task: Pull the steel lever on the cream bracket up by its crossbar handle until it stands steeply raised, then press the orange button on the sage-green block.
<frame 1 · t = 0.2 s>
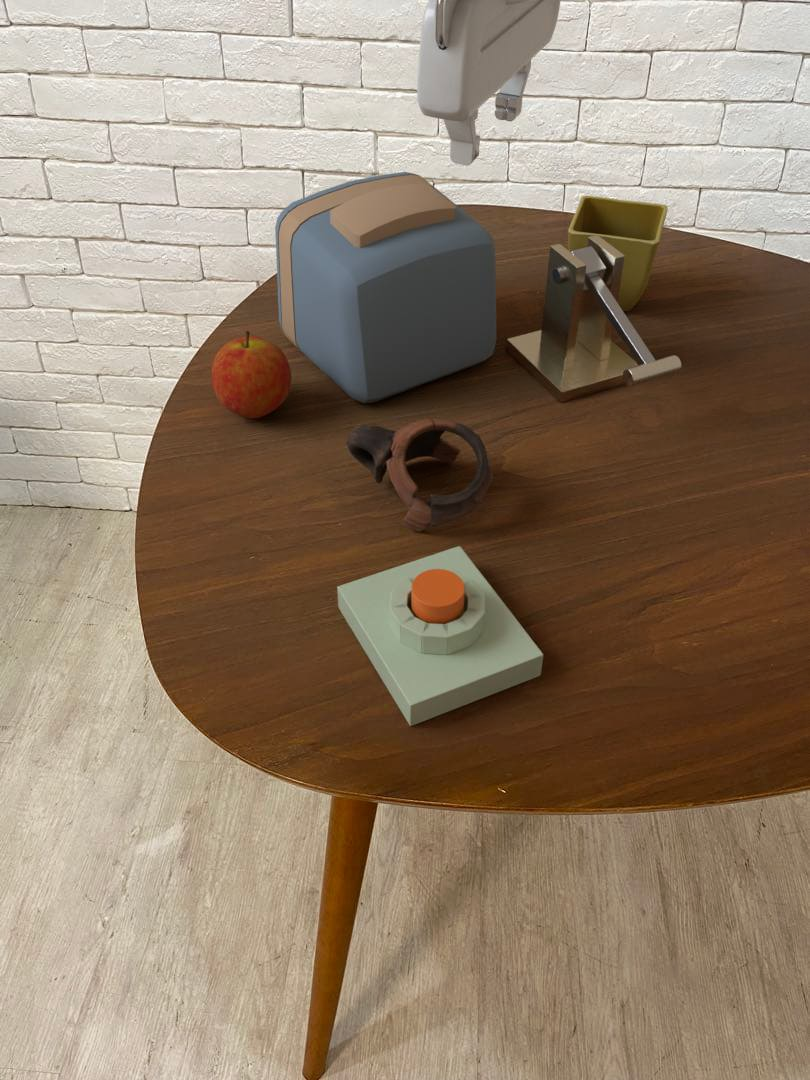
hand: (486, 138, 82), 23 cm above the table, tool pointing down, fingers open, 8 cm apart
button block: (436, 640, 74), on the table
button: (437, 596, 71), point 4 cm above the table, slide at 0.1 cm
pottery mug: (418, 496, 86), on the table
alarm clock: (386, 351, 103), on the table
bracket: (572, 364, 101), on the table
fruit: (255, 411, 95), on the table
lever: (615, 316, 92), point 8 cm above the table, hinge at -20.0°
flower pot: (606, 300, 110), on the table
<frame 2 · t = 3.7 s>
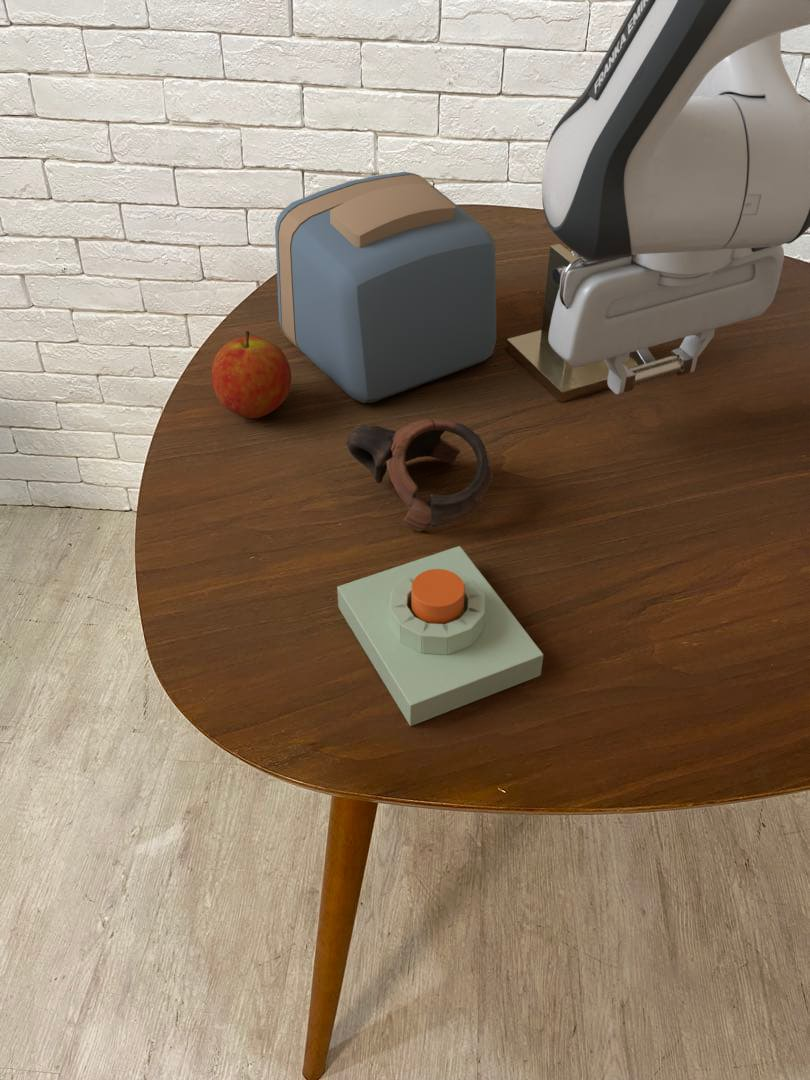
hand: (651, 379, 90), 5 cm above the table, tool pointing down, fingers closed on lever, 5 cm apart
lever: (615, 316, 92), point 8 cm above the table, hinge at -20.0°, touching gripper
everything else where it was.
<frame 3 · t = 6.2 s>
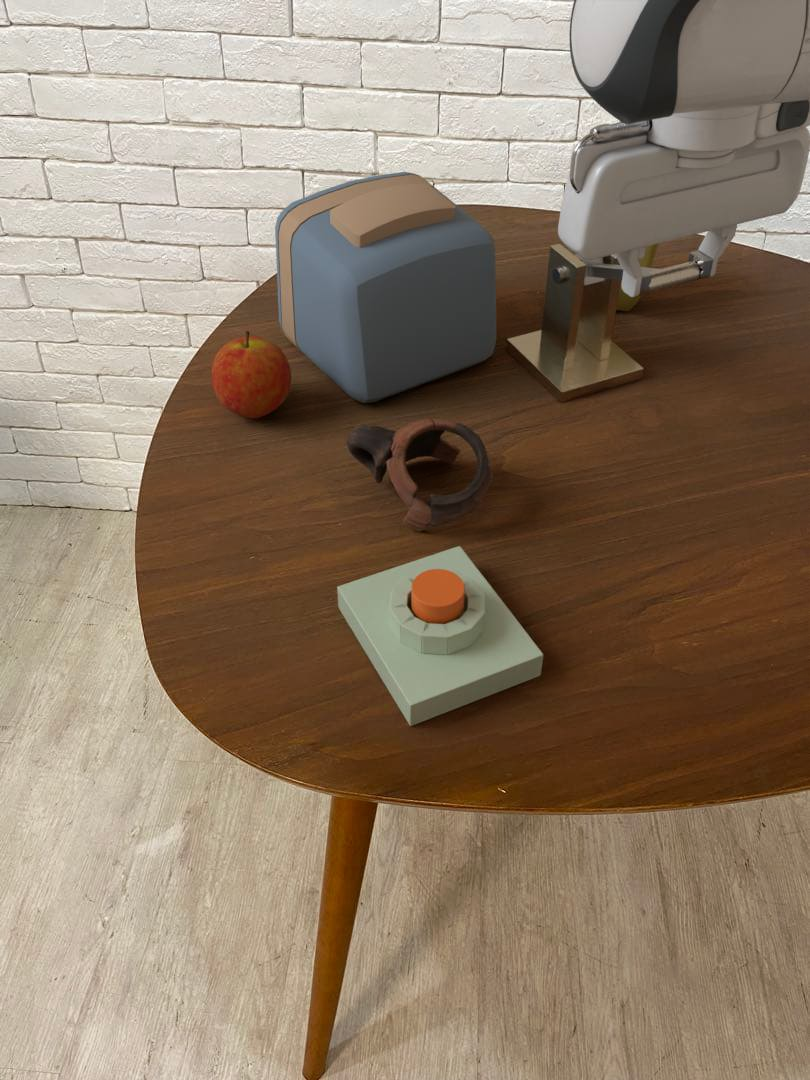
hand: (668, 283, 84), 14 cm above the table, tool pointing down, fingers closed on lever, 5 cm apart
lever: (622, 272, 89), point 12 cm above the table, hinge at 22.5°, touching gripper
everything else where it was.
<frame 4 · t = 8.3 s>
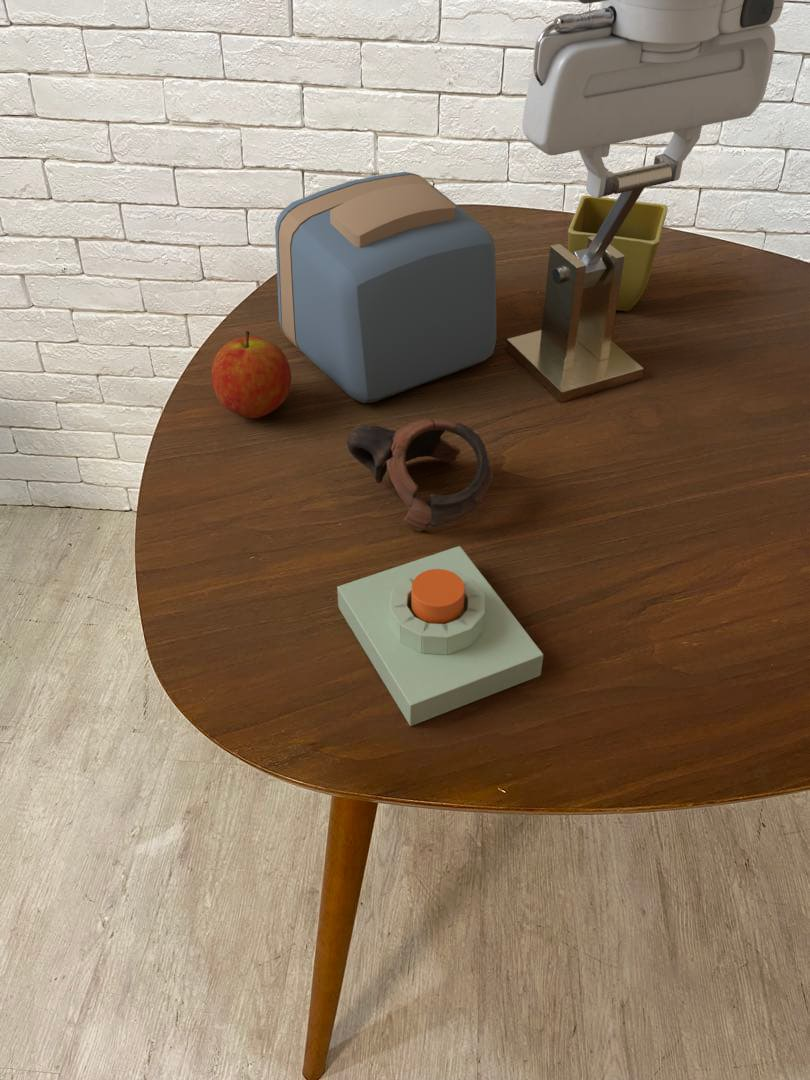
hand: (632, 186, 84), 20 cm above the table, tool pointing down, fingers closed on lever, 5 cm apart
lever: (609, 228, 89), point 15 cm above the table, hinge at 61.9°, touching gripper
everything else where it was.
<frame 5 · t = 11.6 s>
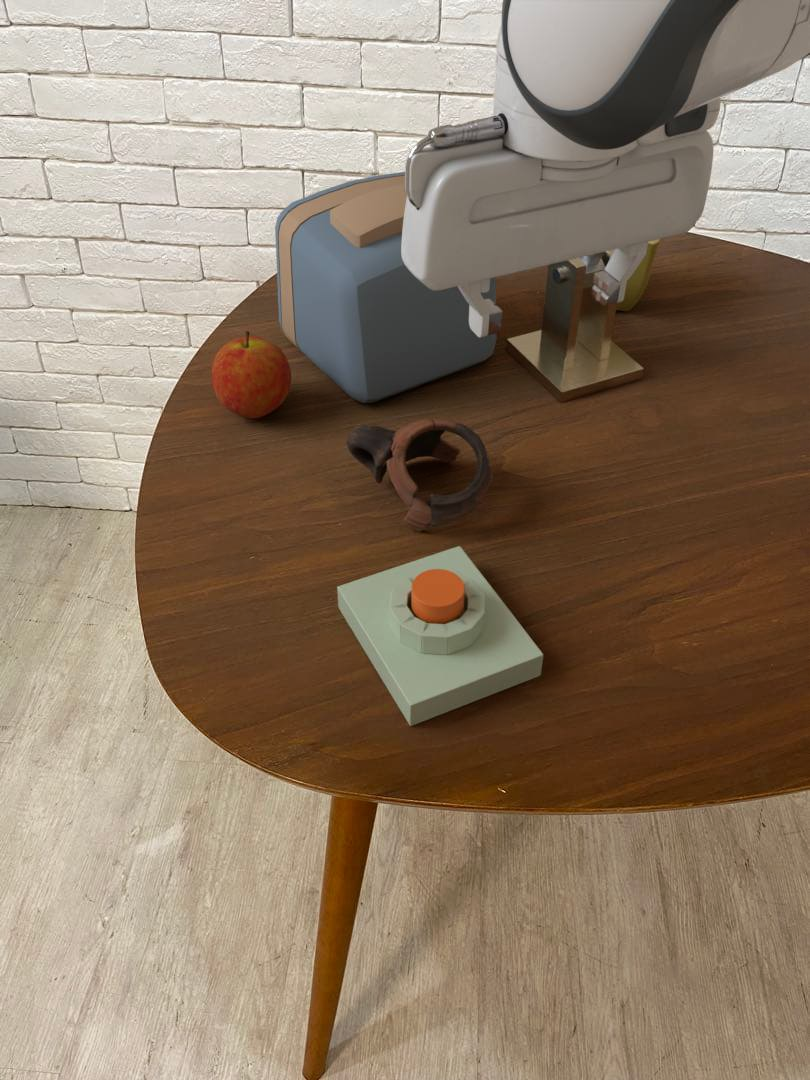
hand: (547, 315, 70), 19 cm above the table, tool pointing down, fingers open, 8 cm apart
lever: (610, 230, 89), point 15 cm above the table, hinge at 59.9°
everything else where it was.
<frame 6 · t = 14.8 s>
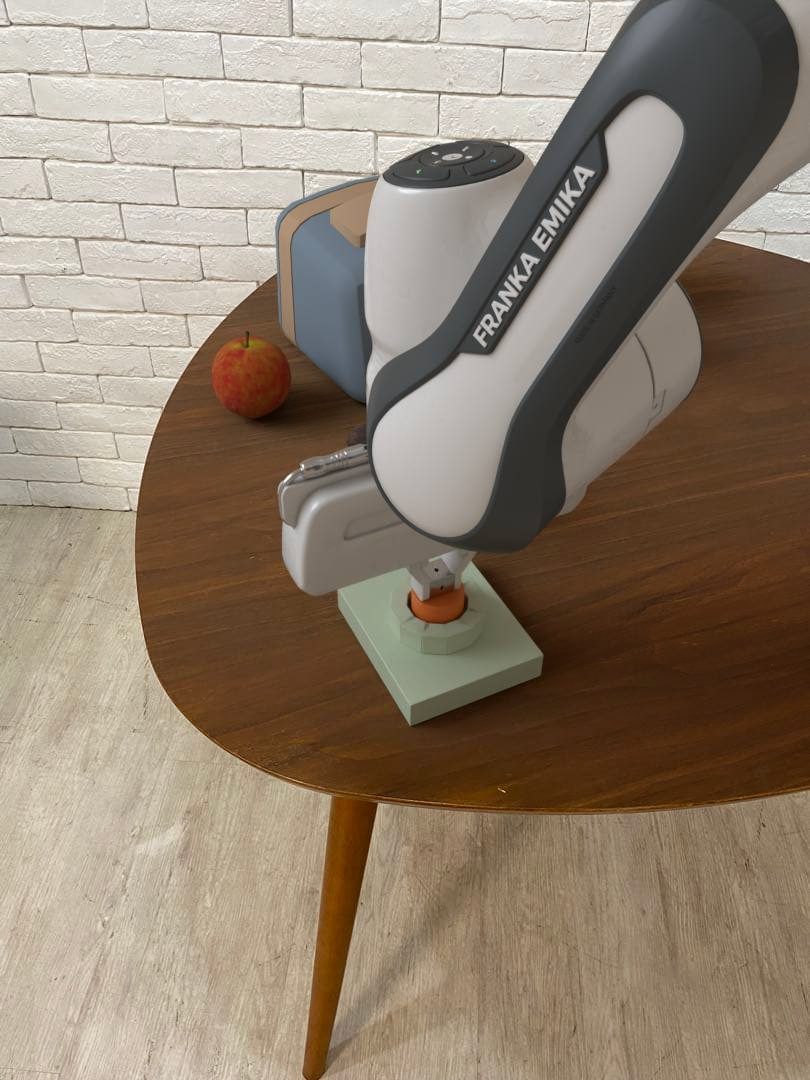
hand: (435, 589, 71), 5 cm above the table, tool pointing down, fingers closed, pressing on button
button: (437, 597, 71), point 4 cm above the table, slide at -0.1 cm, touching gripper
everything else where it was.
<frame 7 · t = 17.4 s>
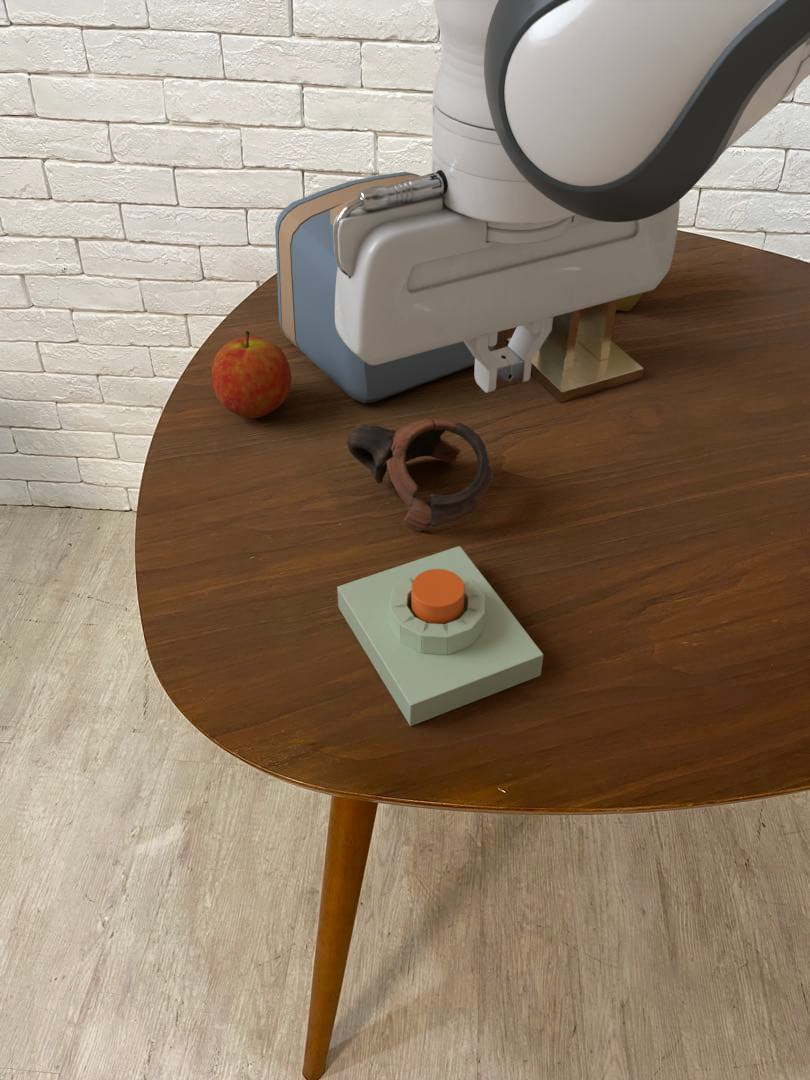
hand: (501, 382, 63), 20 cm above the table, tool pointing down, fingers closed
button: (437, 596, 71), point 4 cm above the table, slide at 0.1 cm
everything else where it was.
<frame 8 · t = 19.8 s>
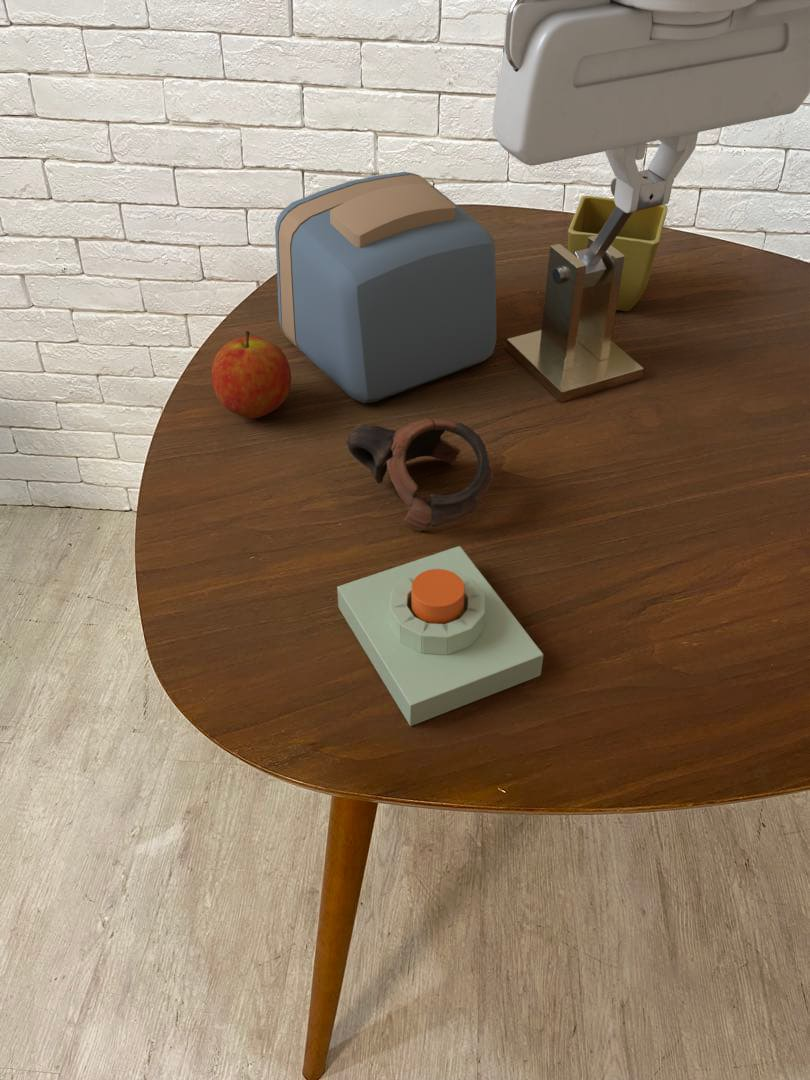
hand: (640, 205, 65), 27 cm above the table, tool pointing down, fingers closed
nothing on the table moved.
at the end: lever at +60° (first picture: -20°); button pushed in 1.1 cm at the most during the clip, back to where it started at the end; button slide at 0.1 cm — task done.
